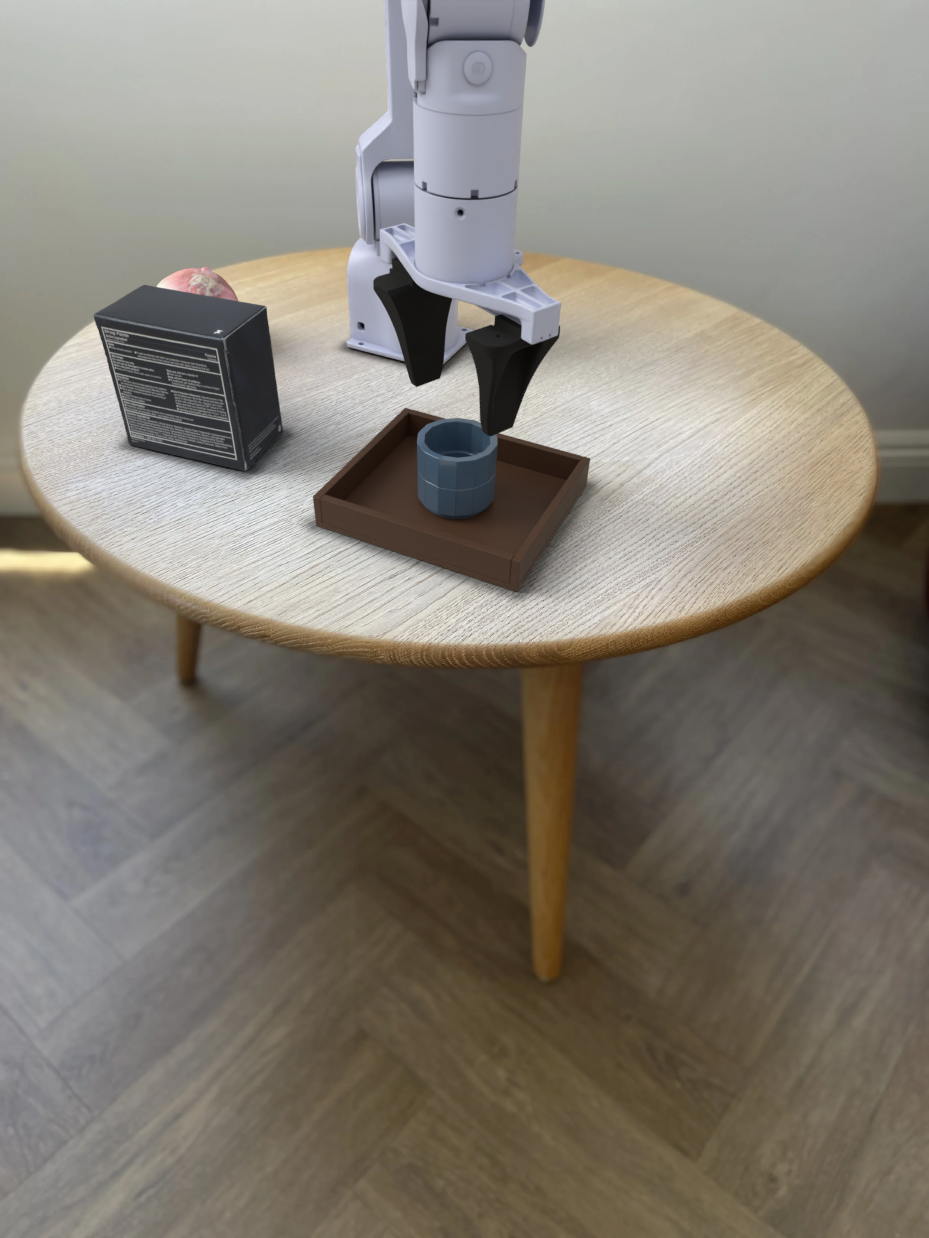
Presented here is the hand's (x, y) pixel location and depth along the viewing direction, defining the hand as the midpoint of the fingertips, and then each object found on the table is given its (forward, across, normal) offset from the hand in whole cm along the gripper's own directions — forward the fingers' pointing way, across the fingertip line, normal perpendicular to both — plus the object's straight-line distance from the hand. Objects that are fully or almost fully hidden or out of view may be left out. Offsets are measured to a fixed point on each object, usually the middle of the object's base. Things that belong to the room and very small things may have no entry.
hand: (460, 404), depth 57 cm
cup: (+8, 0, 0) cm, 8 cm away
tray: (+8, 0, 0) cm, 8 cm away
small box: (+8, +18, +10) cm, 23 cm away
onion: (+8, +33, +4) cm, 34 cm away
